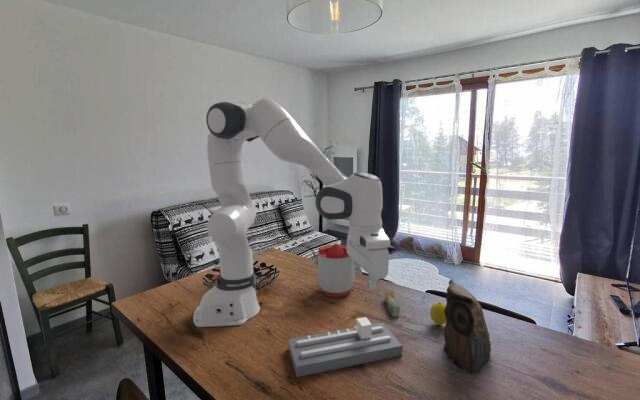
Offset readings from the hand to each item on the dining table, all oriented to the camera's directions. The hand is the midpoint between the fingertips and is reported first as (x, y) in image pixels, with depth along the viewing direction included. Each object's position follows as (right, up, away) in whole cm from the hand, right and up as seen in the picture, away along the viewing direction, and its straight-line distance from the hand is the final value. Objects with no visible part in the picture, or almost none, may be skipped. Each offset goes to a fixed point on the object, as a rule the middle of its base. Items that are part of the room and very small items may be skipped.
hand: (364, 280), depth 89 cm
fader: (0, -17, +3) cm, 17 cm away
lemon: (+26, -18, +15) cm, 35 cm away
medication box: (+13, -17, +26) cm, 34 cm away
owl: (+29, -21, -1) cm, 35 cm away
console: (-6, -21, +2) cm, 22 cm away
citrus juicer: (-7, -14, +40) cm, 43 cm away
